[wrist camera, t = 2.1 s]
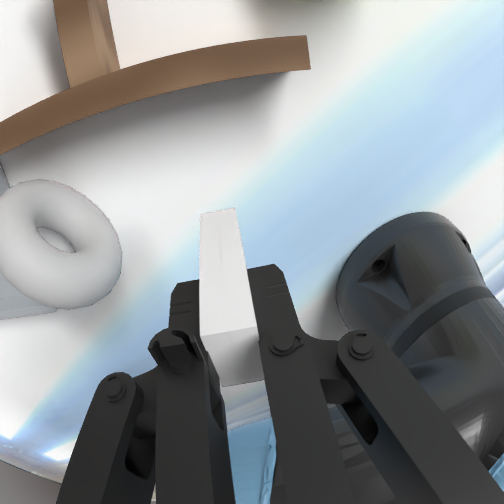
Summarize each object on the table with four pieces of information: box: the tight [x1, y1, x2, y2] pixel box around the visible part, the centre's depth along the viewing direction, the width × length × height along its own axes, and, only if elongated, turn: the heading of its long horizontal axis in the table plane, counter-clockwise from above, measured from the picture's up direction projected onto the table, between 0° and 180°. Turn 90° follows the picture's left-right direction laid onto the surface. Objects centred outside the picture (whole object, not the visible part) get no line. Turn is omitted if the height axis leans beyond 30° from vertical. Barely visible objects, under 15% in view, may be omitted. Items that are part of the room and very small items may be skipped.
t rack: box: [0, 0, 311, 155], centre depth 12 cm, size 12×22×5 cm, turn 99°
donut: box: [0, 179, 122, 309], centre depth 18 cm, size 10×4×10 cm, turn 47°
